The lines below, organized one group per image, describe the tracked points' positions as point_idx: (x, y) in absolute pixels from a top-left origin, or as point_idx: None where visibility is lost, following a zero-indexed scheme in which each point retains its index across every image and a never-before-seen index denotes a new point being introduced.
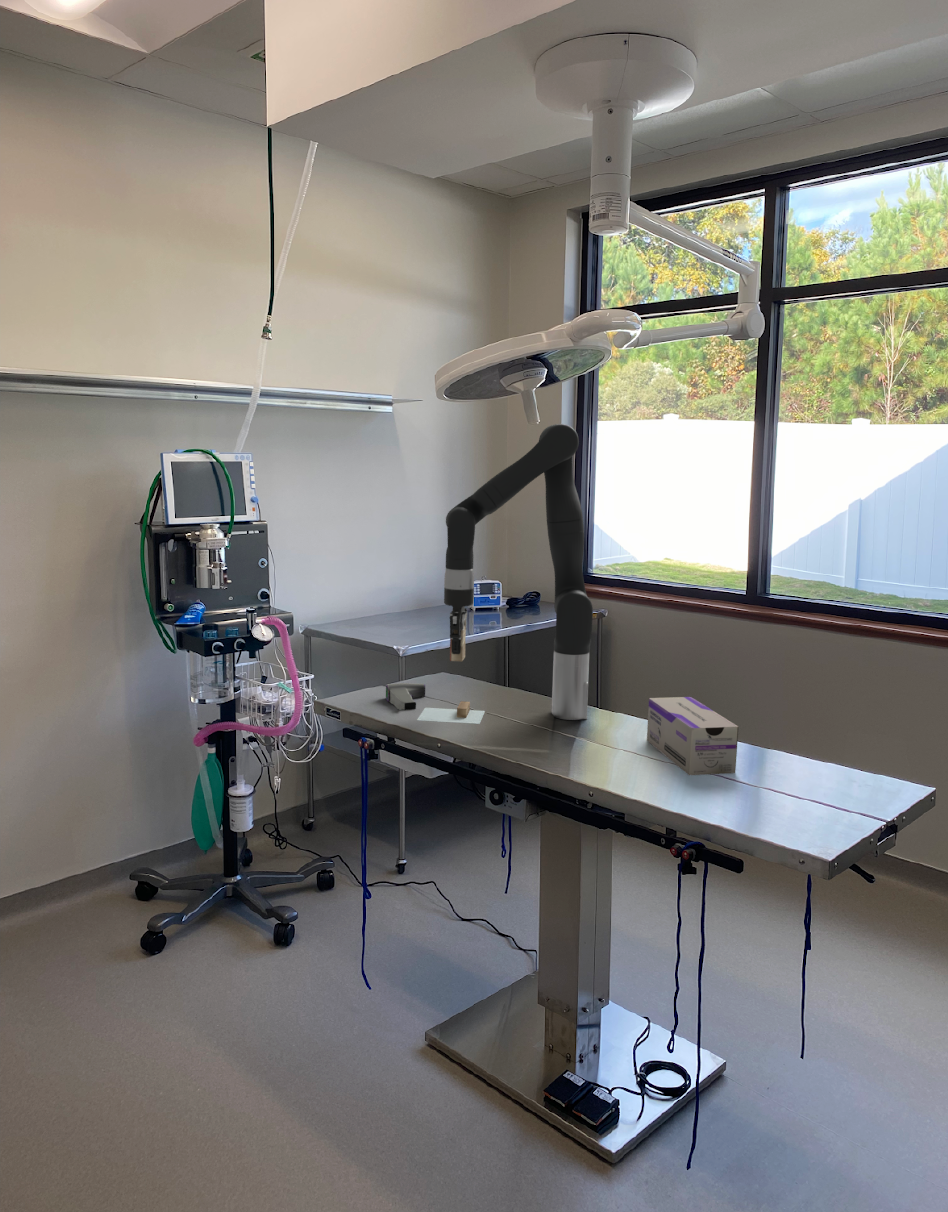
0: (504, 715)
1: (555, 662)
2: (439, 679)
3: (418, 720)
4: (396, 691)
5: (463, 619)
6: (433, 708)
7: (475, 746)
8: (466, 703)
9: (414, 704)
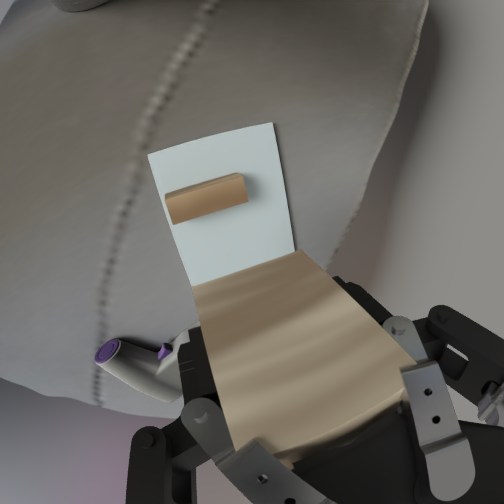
0: (145, 98)
1: None
2: (3, 362)
3: None
4: None
5: (461, 432)
6: (192, 280)
7: (388, 101)
8: (187, 200)
9: None
